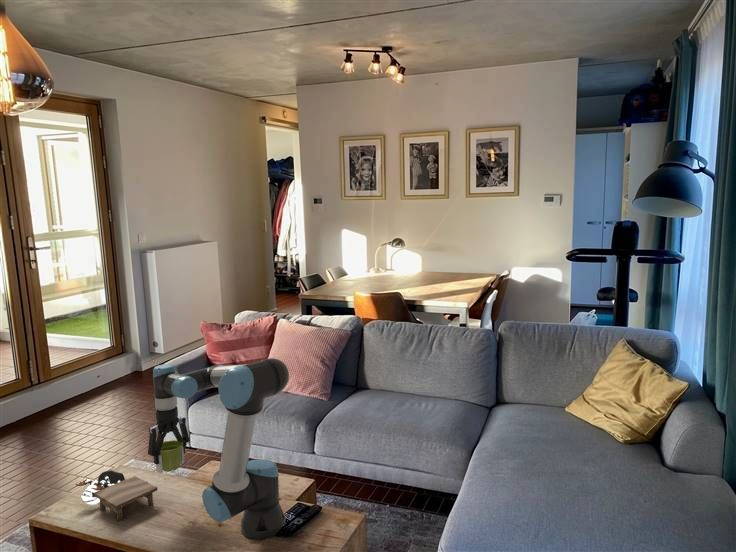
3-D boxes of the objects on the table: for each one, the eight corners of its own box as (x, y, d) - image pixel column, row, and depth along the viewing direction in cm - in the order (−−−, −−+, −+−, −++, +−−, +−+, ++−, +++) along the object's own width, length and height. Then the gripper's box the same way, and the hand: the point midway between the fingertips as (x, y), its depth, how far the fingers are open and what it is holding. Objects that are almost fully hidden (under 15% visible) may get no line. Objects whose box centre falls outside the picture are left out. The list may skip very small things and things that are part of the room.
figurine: (133, 472, 216) (99, 485, 198) (130, 496, 215) (96, 511, 198) (105, 466, 219) (69, 479, 202) (102, 489, 219) (66, 504, 202)
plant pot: (175, 474, 191) (173, 451, 190) (151, 473, 193) (150, 450, 192) (189, 463, 200) (187, 440, 199) (166, 461, 202) (165, 439, 201)
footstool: (158, 504, 202) (157, 487, 202) (117, 524, 190) (115, 505, 189) (135, 492, 212) (134, 475, 211) (95, 510, 199) (93, 492, 199)
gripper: (185, 397, 205) (189, 454, 207) (133, 413, 188) (138, 475, 190) (197, 400, 200) (201, 459, 203) (145, 418, 184) (149, 481, 186)
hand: (170, 467), depth 196 cm, fingers closed on plant pot, 8 cm apart
